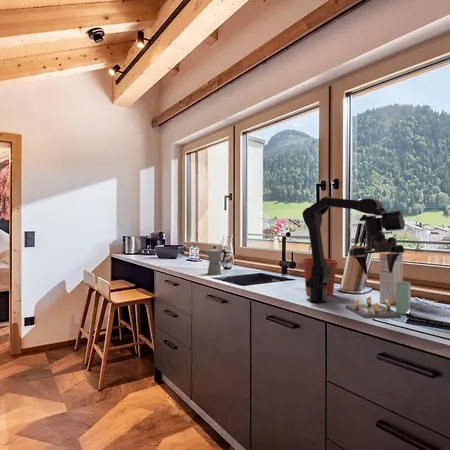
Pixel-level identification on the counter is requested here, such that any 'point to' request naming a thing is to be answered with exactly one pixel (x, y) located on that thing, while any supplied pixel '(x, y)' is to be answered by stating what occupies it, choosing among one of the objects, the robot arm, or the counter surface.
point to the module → (403, 297)
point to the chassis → (372, 309)
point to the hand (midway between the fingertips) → (378, 273)
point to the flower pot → (330, 285)
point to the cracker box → (390, 278)
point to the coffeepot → (215, 260)
